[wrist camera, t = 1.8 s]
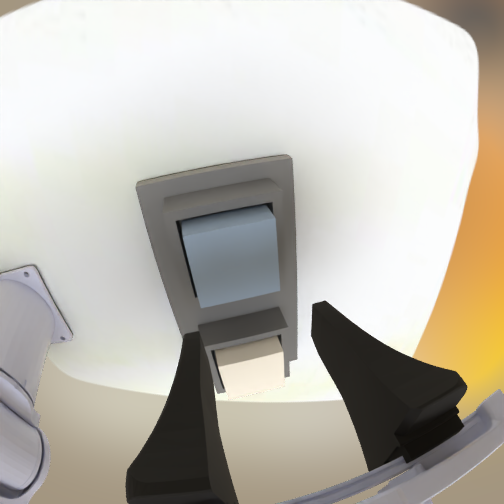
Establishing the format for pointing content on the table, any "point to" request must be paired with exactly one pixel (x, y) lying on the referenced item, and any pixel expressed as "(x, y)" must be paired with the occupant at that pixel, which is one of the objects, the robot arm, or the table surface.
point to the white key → (251, 367)
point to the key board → (177, 265)
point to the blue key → (232, 254)
